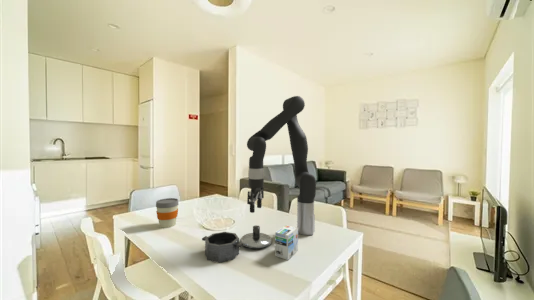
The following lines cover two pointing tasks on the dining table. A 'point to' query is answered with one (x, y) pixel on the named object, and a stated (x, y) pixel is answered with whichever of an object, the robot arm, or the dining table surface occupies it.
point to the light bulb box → (286, 242)
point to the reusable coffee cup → (167, 212)
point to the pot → (222, 246)
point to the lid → (256, 239)
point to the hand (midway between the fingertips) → (255, 210)
